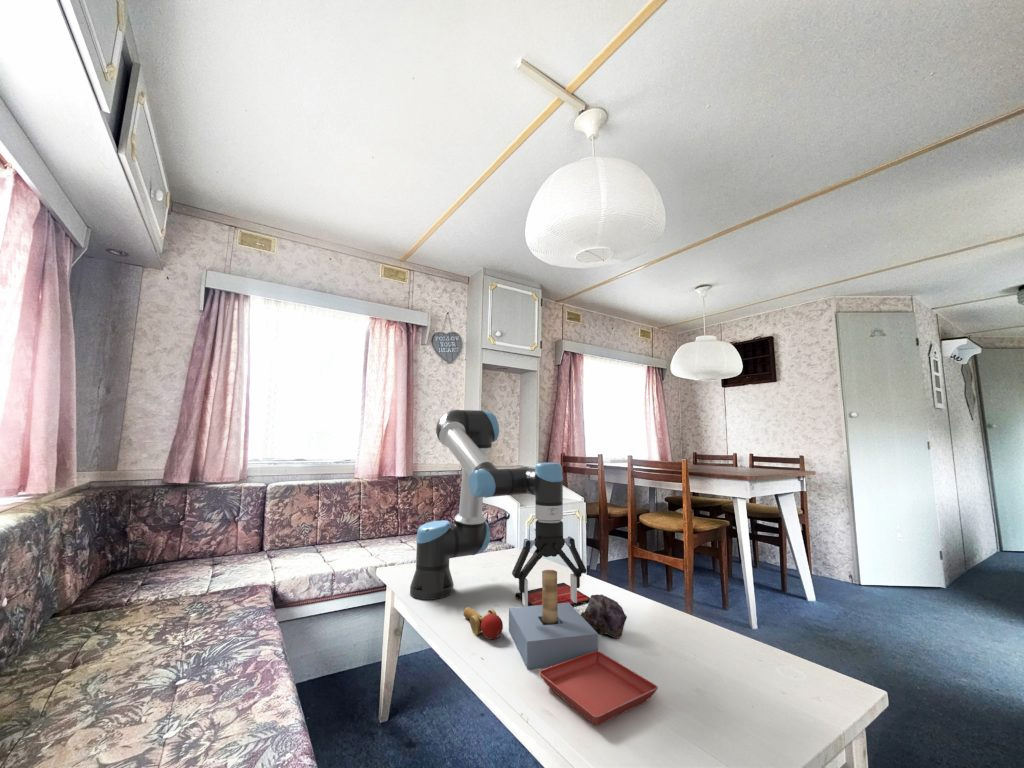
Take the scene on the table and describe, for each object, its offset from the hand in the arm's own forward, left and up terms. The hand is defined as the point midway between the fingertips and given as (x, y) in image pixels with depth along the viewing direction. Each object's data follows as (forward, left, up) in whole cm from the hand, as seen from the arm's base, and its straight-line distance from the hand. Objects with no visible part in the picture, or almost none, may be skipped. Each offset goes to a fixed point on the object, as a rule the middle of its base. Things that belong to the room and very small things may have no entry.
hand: (549, 603), depth 108 cm
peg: (0, 0, -10) cm, 10 cm away
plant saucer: (+22, +3, -11) cm, 25 cm away
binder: (-29, +11, -11) cm, 33 cm away
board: (0, 0, -10) cm, 10 cm away
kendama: (-13, -16, -11) cm, 23 cm away
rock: (-4, +18, -10) cm, 21 cm away
